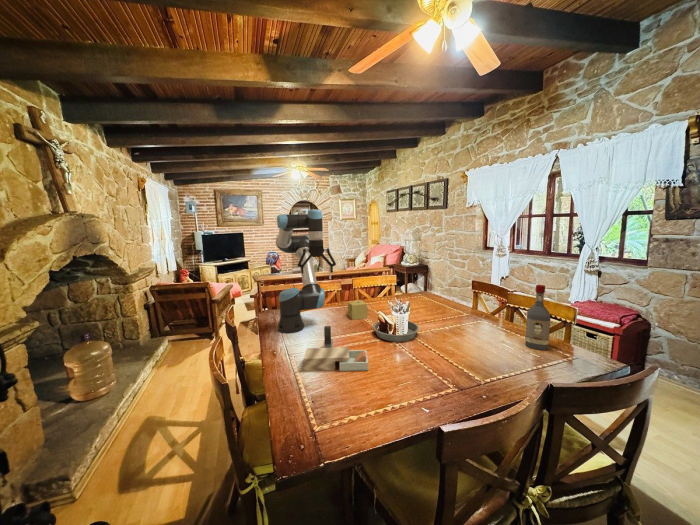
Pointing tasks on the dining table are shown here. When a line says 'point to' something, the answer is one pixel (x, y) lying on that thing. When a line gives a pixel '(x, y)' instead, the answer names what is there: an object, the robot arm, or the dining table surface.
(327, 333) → the scraper
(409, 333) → the cake pan
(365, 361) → the box
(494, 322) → the dining table surface
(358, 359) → the tile
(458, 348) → the dining table surface
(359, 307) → the cheese
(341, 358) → the ledge
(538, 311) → the liquor
